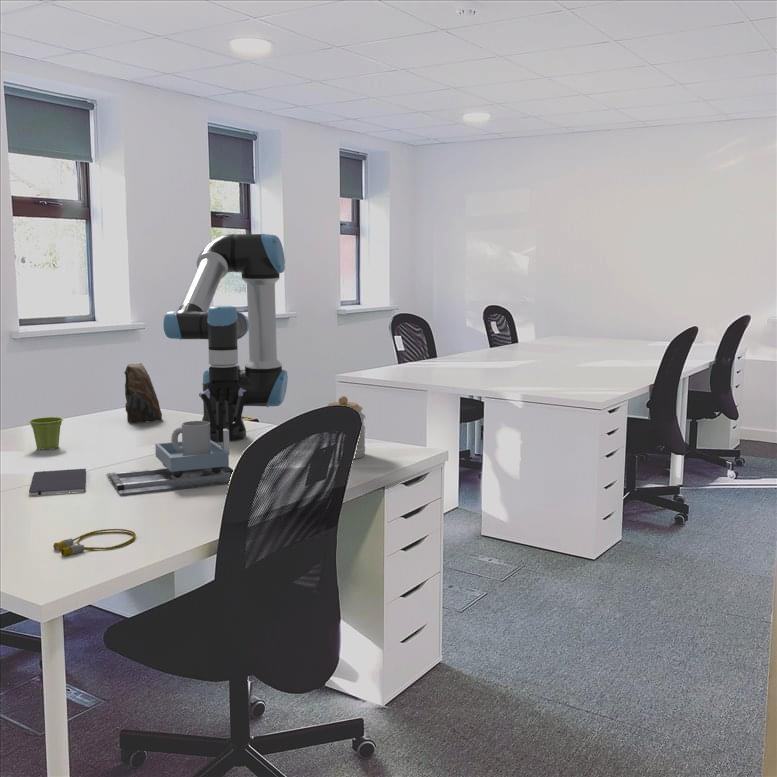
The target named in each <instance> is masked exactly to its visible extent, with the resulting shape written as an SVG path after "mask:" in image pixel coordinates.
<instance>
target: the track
mask: <svg viewBox="0 0 777 777" xmlns="http://www.w3.org/2000/svg"><path fill="white" fill-rule="evenodd" d="M221 468H222V470H221V472H220V473H218V474H216V473H214V472H213V471H212V469H211V468H204V469H194V470H184V471H183V474H182V476H181V477H179V478H176V477H174V476H173V474H172V472H171V471H170V470H169V469H168V468H167V467H160V468H159V467H158V468H151V469H150V468H149V469H141V470H140V469H139V470H128V471H116V472H107V473H106V477H107V476H108V477H107V479H108V478H109V479H110V480H109V479H108V480H109V481H111V482H112V483H111V482H110V483H111V485H112V484H113V485H112V486H113V488H114V487H115V488H114V489H115V490H117V491H116V492H117V493H118V495H119V496H120V497H123V496H135V495H142V494H151V493H162V492H170V491H179V490H189V489H196V488H205V487H214V486H225V485H229V484H228V483H229V481H230V477H231V474H232V472H233V470H234V469H232V468H231V467H230V465H229V466H224V467H221Z"/></svg>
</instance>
